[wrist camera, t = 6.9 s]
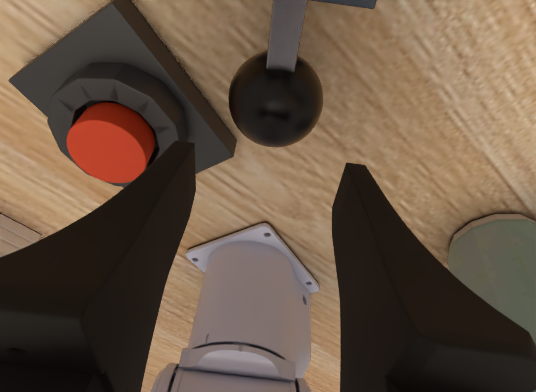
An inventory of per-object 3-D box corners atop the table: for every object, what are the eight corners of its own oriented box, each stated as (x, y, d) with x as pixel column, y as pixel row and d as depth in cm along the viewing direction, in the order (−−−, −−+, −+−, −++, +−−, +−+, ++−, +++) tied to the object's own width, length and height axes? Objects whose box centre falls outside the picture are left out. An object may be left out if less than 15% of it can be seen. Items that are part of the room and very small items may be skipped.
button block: (237, 140, 25) (229, 176, 22) (144, 184, 28) (128, 220, 25) (124, -10, 19) (96, 15, 16) (23, 66, 22) (-13, 97, 20)
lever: (314, 109, 19) (312, 171, 17) (234, 98, 19) (221, 159, 17) (397, -221, 10) (418, -180, 8) (244, -245, 10) (219, -211, 8)
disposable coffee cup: (587, 176, 25) (813, 450, 14) (562, 274, 31) (701, 510, 20) (412, 208, 28) (484, 455, 17) (424, 291, 34) (480, 506, 23)
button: (170, 147, 22) (162, 167, 20) (119, 173, 23) (108, 192, 22) (117, 88, 19) (104, 106, 18) (64, 121, 21) (49, 140, 20)
